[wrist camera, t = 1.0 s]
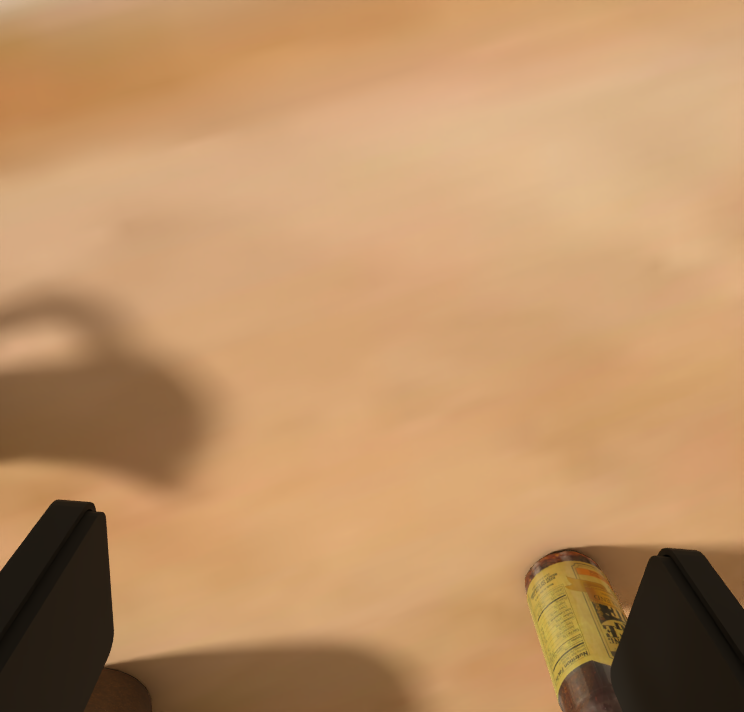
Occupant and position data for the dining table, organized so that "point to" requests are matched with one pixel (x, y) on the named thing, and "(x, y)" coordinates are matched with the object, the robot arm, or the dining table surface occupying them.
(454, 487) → the dining table surface
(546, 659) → the sauce bottle
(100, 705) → the brown wooden cup
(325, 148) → the dining table surface
